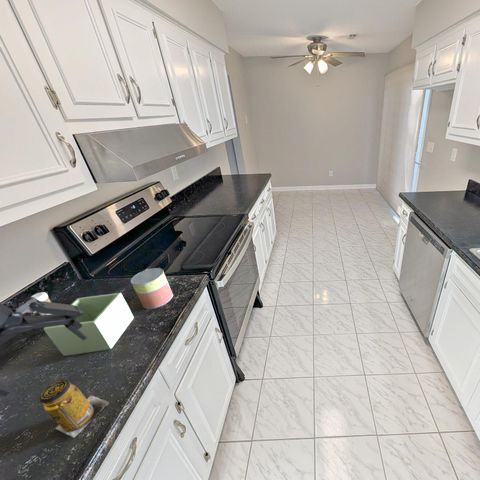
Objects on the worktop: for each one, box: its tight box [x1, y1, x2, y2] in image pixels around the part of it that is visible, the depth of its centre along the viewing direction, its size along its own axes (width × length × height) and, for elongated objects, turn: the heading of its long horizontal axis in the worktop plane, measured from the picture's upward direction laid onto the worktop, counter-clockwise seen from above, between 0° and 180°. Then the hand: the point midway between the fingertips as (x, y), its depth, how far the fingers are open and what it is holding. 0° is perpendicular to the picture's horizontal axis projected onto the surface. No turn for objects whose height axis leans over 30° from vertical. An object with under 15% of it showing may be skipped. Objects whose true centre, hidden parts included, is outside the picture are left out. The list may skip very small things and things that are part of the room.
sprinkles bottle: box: [30, 291, 52, 316], centre depth 93 cm, size 5×5×14 cm
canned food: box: [130, 267, 174, 310], centre depth 103 cm, size 11×11×12 cm
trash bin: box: [43, 292, 135, 357], centre depth 87 cm, size 15×15×12 cm
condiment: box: [39, 379, 110, 439], centre depth 62 cm, size 7×8×12 cm
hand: (46, 360), depth 55 cm, fingers open, 13 cm apart
